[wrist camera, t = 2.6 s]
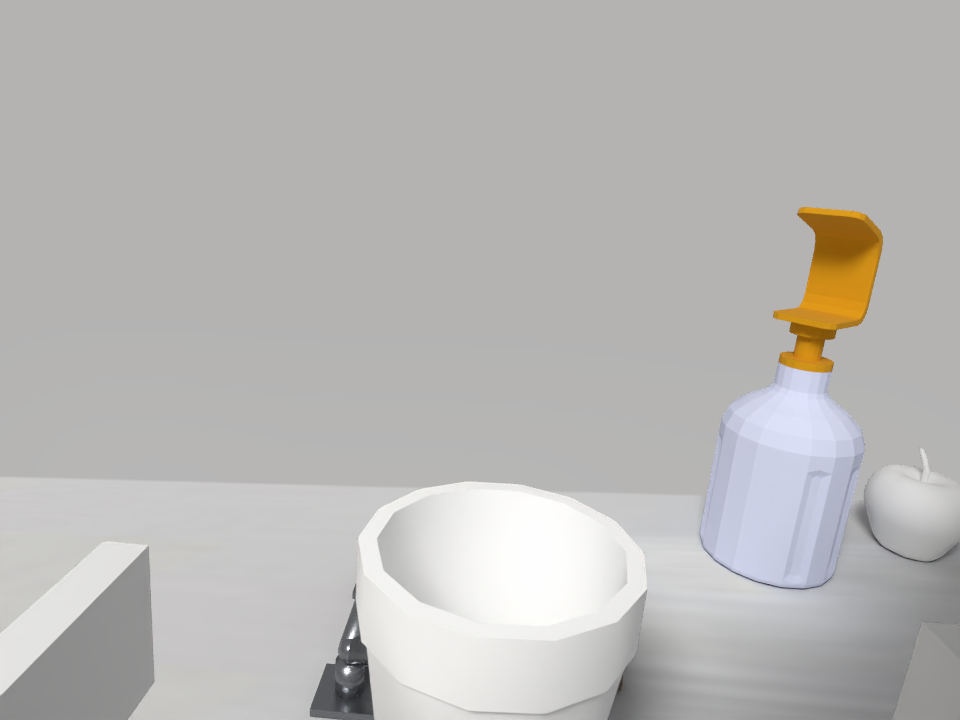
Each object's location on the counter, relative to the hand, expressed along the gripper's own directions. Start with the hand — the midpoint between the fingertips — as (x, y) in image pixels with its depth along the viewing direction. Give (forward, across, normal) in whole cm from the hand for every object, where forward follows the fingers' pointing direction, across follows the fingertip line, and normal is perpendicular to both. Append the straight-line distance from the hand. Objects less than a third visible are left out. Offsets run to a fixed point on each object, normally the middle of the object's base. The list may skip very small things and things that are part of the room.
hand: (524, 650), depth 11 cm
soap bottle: (+34, +20, -17) cm, 43 cm away
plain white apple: (+37, +32, -17) cm, 52 cm away
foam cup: (+10, 0, -17) cm, 20 cm away
